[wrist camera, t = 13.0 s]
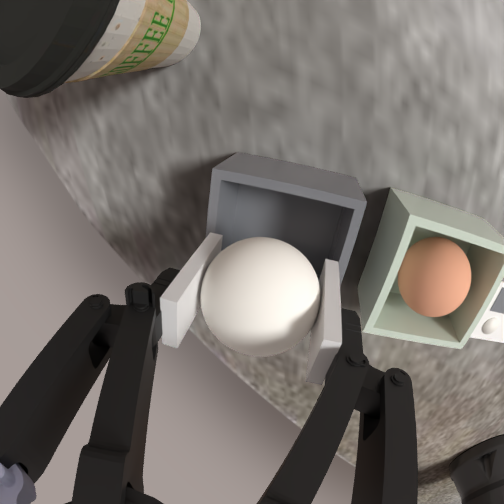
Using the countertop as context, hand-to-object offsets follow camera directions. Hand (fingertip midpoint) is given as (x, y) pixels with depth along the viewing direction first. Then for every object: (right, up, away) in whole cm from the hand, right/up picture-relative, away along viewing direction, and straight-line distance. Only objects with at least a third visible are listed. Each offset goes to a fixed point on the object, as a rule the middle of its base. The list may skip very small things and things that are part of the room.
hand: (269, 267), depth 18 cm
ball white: (-1, -1, -2) cm, 3 cm away
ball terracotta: (+13, -1, +2) cm, 13 cm away
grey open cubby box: (+2, +3, +7) cm, 8 cm away
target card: (+26, -6, +6) cm, 28 cm away
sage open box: (+13, +1, +6) cm, 14 cm away
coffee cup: (-8, +18, +2) cm, 20 cm away
